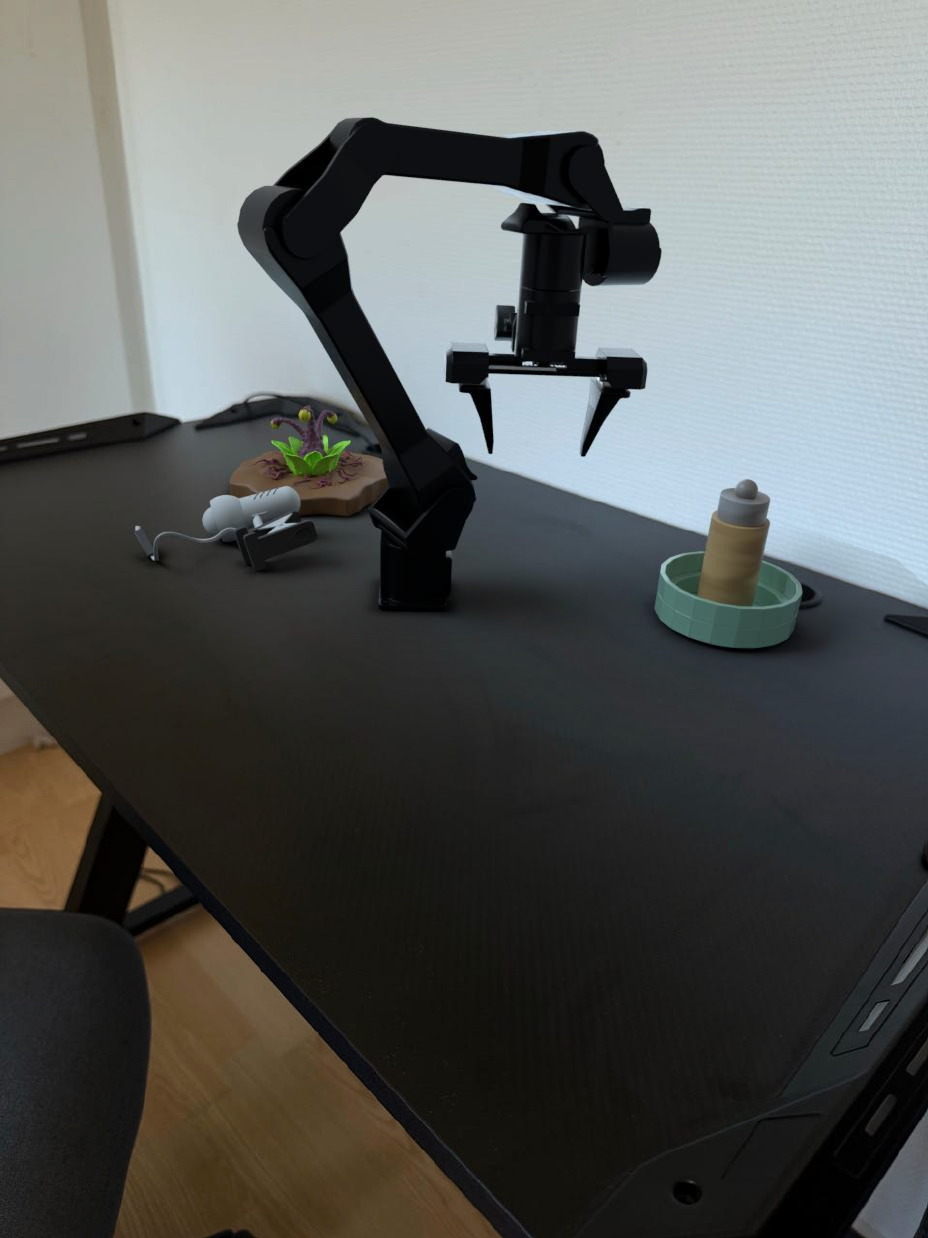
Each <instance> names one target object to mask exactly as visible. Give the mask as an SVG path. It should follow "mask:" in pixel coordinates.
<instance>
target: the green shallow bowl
mask: <svg viewBox="0 0 928 1238" xmlns="http://www.w3.org/2000/svg"><path fill="white" fill-rule="evenodd" d="M704 555H705V550H699V551H690V552H684V553H683V552H682V553H680V554H676V555H673V556H670V557H669V558H667V559H666V560H665V561H664V562H663V563H661V566H660V571H659V575H658V577H659V578H658V582H657V589H656V590H657V591H656V597H655V601H654V611H655V613H656V615H657V617H658V619H659V620H660V621H661V622H662V623H663V624H664V625H666V626H667V627H668V628H670V630H673V631H675V632H677V633H679V634H681V635H683V636H685V637H687V638H690V639H693V640H695V641H699V642H701V643H705V644H707V645H712V646H717V647H721V648H723V647H724V648H731V649H732V648H733V649H759V648H766V647H773V646H777V645H778V644H780V643H782V642H784V641H787V640H788V639H789V638H790V636H791V635H792V634H793V632H794V630H795V626H796V621H797V619H798V614H799V610H800V606H801V601H802V597H803V588H802V584H801V582H800V581H799V580H798V579H797V578H796V577H795V576H794V575H793V574H792V573H790V572H789V571H787V570H785V569H783V568H782V567H780V566H778V565H776V564H773V563H771V562H768V561H766V560H763V559H762V564H761V568H760V573H759V578H758V582H757V587H756V592H755V596H754V601H753V606H752V607H750V606H735V605H729V604H722V603H717V602H713V601H710V600H706V599H703V598H699V597H697V593H698V588H699V582H700V577H701V571H702V566H703V560H704Z"/></svg>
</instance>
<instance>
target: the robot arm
mask: <svg viewBox="0 0 928 1238" xmlns="http://www.w3.org/2000/svg"><path fill="white" fill-rule="evenodd" d="M604 156H605V155H604V151H603V149H602V146H601V144H600V141H599V138H598V137H597V136H595V134H593V133H590V132H587V131H585V130H583V131H582V130H576V131H575V130H539V131H530V132H519V133H512V134H505V135H500V136H496V135H487V134H479V133H473V132H464V131H454V130H448V129H440V128H432V127H423V126H416V125H414V126H413V125H406V124H398V123H390V122H386V121H383V120H381V119H379V118H377V117H373V116H369V117H348V118H344V119H342V120H340V121H339V122H337V124H335V126H334V127H333V129H331V131H330V132H329V133H328V134H327V135H326V136H325V138H323V139H322V141H321V142H319V144H317V145H316V146H315V147H314V148H313V149H311V150H310V151H309V152H308V153H306V154H305V155H303V157H301V159H299V160H298V161H297V162H295V163H294V164H293V165H292V166H290V167H289V168H288V169H287V170H286V171H285V172H283V174H282V175H281V176H280V177H279V178H278V179H277V180H276V181H275V182H274V184H272V185H263V186H260V187H258V188H256V189H254V190H253V191H252V192H250V193H249V194H248V196H246V197H245V198H244V201H243V203H242V205H241V207H240V209H239V215H238V221H237V224H236V226H237V233H238V235H239V238H240V240H241V243H242V245H243V247H244V248H245V249H246V251H247V252H248V253H249V254H250V255H251V257H252V258H253V259H254V260H255V261H256V263H257V264H258V265H259V266H260V267H261V269H262V270H263V271H264V272H265V274H267V276H268V277H269V278H270V279H271V280H272V282H274V284H275V285H277V287H279V289H280V290H281V291H282V292H283V293H284V294H285V295H286V296H287V297H288V298H289V299H290V300H292V303H294V304H295V305H296V306H297V307H298V309H300V310H301V312H302V313H303V314H304V317H305V318H306V319H307V321H308V324H309V325H310V326H311V328H312V330H313V331H314V333H315V335H316V337H317V339H318V340H319V342H320V344H321V345H322V348H323V349H324V350H325V352H326V354H327V356H328V357H329V359H330V360H331V362H332V365H333V366H334V368H335V369H336V371H337V373H338V375H339V376H340V378H341V380H342V382H343V383H344V385H345V387H346V389H347V390H348V392H349V394H350V395H351V397H352V399H353V401H354V403H355V404H356V406H357V408H358V409H359V411H360V413H361V415H362V416H363V418H364V420H365V421H366V423H367V424H368V426H369V429H370V430H371V432H372V434H373V435H374V437H375V439H376V440H377V442H378V444H379V447H380V450H381V457H382V458H381V459H382V460H383V468H384V472H385V475H386V477H387V480H388V483H389V485H388V486H387V487H386V488H385V489H384V490H383V492H382V493H381V494H380V495H379V496H378V497H377V499H376V500H375V501H374V502H373V503H371V504H369V506H368V508H367V513H368V515H369V518H370V520H371V523H372V525H373V527H374V528H376V529H378V530H380V541H379V547H380V548H379V555H380V556H379V590H378V602H377V603H378V608H379V609H381V610H411V611H412V610H415V611H417V610H418V611H420V610H421V611H444V610H446V609H447V598H449V597H451V595H452V577H453V576H452V572H453V553H452V551H455V550H456V548H457V546H458V543H459V540H460V538H461V535H462V533H463V530H464V527H465V525H466V522H467V520H468V518H469V516H470V515H471V513H472V512H473V509H474V505H475V503H476V502H477V497H478V496H477V491H476V488H475V485H474V483H473V482H474V481H477V480H478V476H477V475H476V474H475V473H473V472H472V471H471V469H470V468H469V466H468V464H467V460H466V458H465V454H464V451H463V449H462V447H461V445H460V444H459V443H458V442H456V441H455V440H453V439H451V438H449V437H447V436H446V435H444V434H442V433H440V432H438V431H437V430H435V429H432V428H431V427H427V428H426V427H425V425H424V423H423V421H422V419H421V417H420V415H419V413H418V411H417V409H416V408H415V406H414V404H413V402H412V400H411V398H410V397H409V395H408V392H407V391H406V389H405V387H404V385H403V383H402V381H401V379H400V378H399V376H398V374H397V372H396V371H395V368H394V367H393V364H392V362H391V361H390V358H389V357H388V355H387V353H386V351H385V349H384V347H383V346H382V344H381V342H380V340H379V337H378V336H377V334H376V333H375V331H374V329H373V327H372V325H371V323H370V321H369V318H368V317H367V315H366V314H365V312H364V309H363V308H362V306H361V304H360V302H359V301H358V299H357V297H356V295H355V291H354V289H353V282H352V274H351V265H350V257H349V252H348V250H347V248H346V245H345V241H344V238H343V236H342V233H341V232H342V231H343V230H344V229H345V228H346V227H347V226H348V225H349V224H350V223H351V222H352V221H353V220H354V219H355V218H356V216H357V215H358V214H359V212H360V210H361V209H362V206H363V205H364V204H365V202H366V200H367V198H368V197H369V194H370V193H371V192H372V189H373V188H374V186H375V185H376V183H378V181H379V180H380V179H381V178H382V177H383V176H388V177H389V176H390V177H399V178H400V177H401V178H411V179H419V180H421V179H422V180H432V181H442V182H443V181H444V182H453V183H464V184H465V183H466V184H475V185H476V184H477V185H483V186H488V187H490V188H493V189H496V190H498V191H500V192H502V193H504V194H506V195H510V196H513V197H516V198H518V199H522V200H525V201H528V202H531V203H528V202H520V203H519V204H518V206H517V208H516V209H515V210H514V211H513V212H512V213H511V214H510V215H509V216H507V217H506V218H505V219H504V220H503V221H502V222H501V223H500V229H501V230H502V231H503V232H509V233H515V234H521V248H520V262H519V263H520V264H519V276H518V277H519V279H518V293H517V294H518V295H517V307H516V306H515V305H511V304H509V305H508V304H507V305H506V304H496V306H495V307H494V309H495V310H494V323H493V324H494V325H493V340H494V341H496V342H510V350H511V352H512V353H498V352H497V353H495V352H494V353H493V352H490V351H489V350H488V346H487V344H486V342H485V343H482V342H457V341H454V342H453V341H451V342H449V344H448V345H446V347H445V348H444V356H443V357H444V361H443V374H444V381H445V383H448V384H453V385H454V384H456V385H457V388H458V391H459V393H462V394H468V395H470V397H471V400H472V403H473V405H474V407H475V410H476V412H477V414H478V417H479V420H480V425H481V430H482V432H483V436H484V441H485V446H486V449H487V454H488V455H493V454H494V443H495V438H494V437H495V436H494V421H493V419H494V417H493V403H492V402H493V401H492V387H491V385H490V381H489V379H488V378H489V377H490V376H489V375H517V376H547V377H574V378H575V377H577V378H589V388H588V389H589V390H588V392H589V393H588V401H587V405H586V411H585V415H584V421H583V426H582V431H581V435H580V444H579V455H580V457H582V458H584V457H585V458H586V456H587V454H588V452H589V450H590V449H591V447H592V445H593V443H594V441H595V439H596V437H597V435H598V434H599V432H600V430H601V428H602V427H603V425H604V423H605V421H606V420H607V418H608V417H609V415H610V414H611V412H612V411H613V410H614V408H615V406H616V405H617V404H618V403H619V401H620V400H621V399H629V398H631V394H632V393H631V390H638V391H639V390H645V389H646V386H647V385H646V384H647V378H648V363H647V362H646V360H645V359H644V358H643V356H641V355H640V354H639V353H638V352H637V351H636V350H634V349H633V348H625V347H623V348H621V347H620V348H619V347H597V350H596V353H595V355H594V356H579V355H576V354H577V352H576V350H577V341H578V330H579V320H580V314H581V313H580V311H581V300H582V288H583V282H584V283H585V284H586V285H588V286H589V287H617V286H618V287H619V286H641V285H645V284H647V283H649V282H650V281H651V280H652V279H653V278H654V277H655V275H656V274H657V271H658V269H659V267H660V264H661V259H662V251H663V250H662V248H661V245H660V242H661V241H660V238H659V234H658V232H657V230H656V227H654V225H653V224H652V222H651V218H652V209H651V208H650V207H640V206H626V207H623V205H622V203H621V200H620V198H619V196H618V193H617V191H616V189H615V185H614V184H613V181H612V179H611V177H610V174H609V172H608V170H607V168H606V160H605V157H604ZM536 204H542V205H544V206H546V207H547V208H548V209H549V211H551V212H541V211H540V209H539V208H538V206H537V205H536ZM571 217H574V218H578V222H577V223H578V224H577V225H575V223H574V221H573V220H572V218H571ZM526 362H529V363H530V364H523V363H526ZM472 481H473V482H472Z"/></svg>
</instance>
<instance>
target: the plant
mask: <svg viewBox="0 0 928 1238" xmlns="http://www.w3.org/2000/svg"><path fill="white" fill-rule="evenodd" d="M325 416H326V417H327V418H326V419H327V421H328V422H329V423H330V424H336V423H337V421H338V415H337V414H336V413H335V412H334V411H332V410H328V409H326V408H325V409H323V410H322V411H321V412H320V414H319V415H318V418H317V419H316V421H315V417H316V416H315V415H314V410H313V409H312V408H311V405H304V407H302V408H301V409H300V410H299V412H298V419H299V420H300V421H301V422H302V423H306V426H307V428H306V429H305V428H303V427H302V426H301V425H300V424H298V423H297V422H296V421H295V420H293V419H291V418H287V417H279V416H277V417H274V418H272V419H271V421H270V426H271V427H272V429H273V430H279V429H281V428H282V423H286V424H287V425H290V426H291V427H292V428H293V429H295V431H296V432H298V434H299V435H300V437H301V440H299V439H298V438H296V437H294V436H292V435H290V436H289V435H288V442H289V444H290V446H289V445H288V444H287V443H285V442H282V441H279V440H274V439H272V440H271V444H272V445H273V446H275V447H277V449H279V450H276V449H275V450H274V451H264V452H262V454H261V455H260V456H256V457H254V458H250V459H246V460H243V461H242V462H241V463H240V464H239V466H238V468H237V469H235V471H233V473H232V475H231V477H230V480H229V495H231V496H235V497H237V498H243V497H246V496H250V495H254V494H258V493H262V492H265V491H269V490H273V489H277V488H280V487H284V486H288V487H291V488H292V489H294V490H295V491H296V492H297V493H298V495H299V497H300V503H301V504H300V509H299V511H298V513H299V515H300V517H303V516H311V515H325V516H326V515H327V516H336V517H337V516H338V517H345V518H347V517H350V516H352V515H355V514H359V512H361V510H362V509H364V508H365V507H366V506H368V505H369V506H370V505H371V504H372V503H373V502H374V501H375V500H376V499H377V497H378V496H379V495H380V494H381V493H382V492H383V490H384V489H385V488H386V487H387V486H388V485H389V483H388V480H387V477H386V475H385V472H384V468H383V458H380V457H377V456H374V455H369V454H362V453H356V452H350V451H349V450H348V449H346V448H347V447H348V446H349V445H350V444H351V440H350V439H349V440H343V441H339V442H338V443H336V444H334V445H333V446H332V447H331V448H329V438H328V435H326V434H323V424H324V419H325ZM345 449H346V450H345Z"/></svg>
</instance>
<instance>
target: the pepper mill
mask: <svg viewBox="0 0 928 1238" xmlns="http://www.w3.org/2000/svg"><path fill="white" fill-rule="evenodd" d="M770 504H771V497H770V496H769V495H768V494H766V493H764V492H762V491H759V488H758V485H757V483H756V482H755V481H754V480H752V479H749V478H744V479H741V480H739V482H738V483H737V484H736V485H735V487H729V488H724V489H722V490H721V491H720V492H719V498H718V503H717V509H716V510H715V511H713V512H712V513H711V517H710V522H709V527H708V533H707V538H706V545H705V549H704V551H705V555H704V560H703V566H702V571H701V577H700V582H699V588H698V593H697V597H699V598H703V599H706V600H710V601H713V602H717V603H722V604H729V605H735V606H750V607H752V606H753V601H754V596H755V592H756V587H757V582H758V578H759V573H760V568H761V564H762V560H763V559H764V554H765V549H766V544H767V539H768V534H769V530H770V526H771V522H770V520H769V519H768V514H769V508H770Z"/></svg>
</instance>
